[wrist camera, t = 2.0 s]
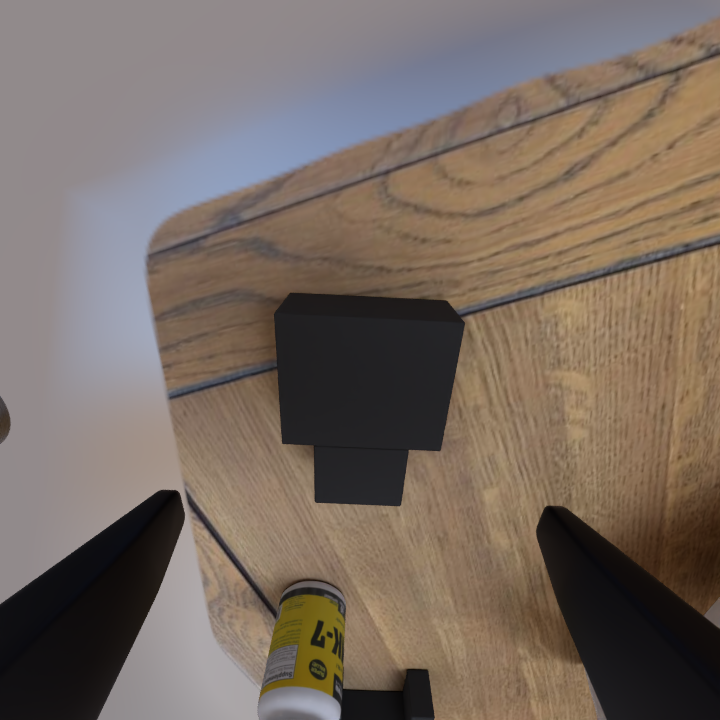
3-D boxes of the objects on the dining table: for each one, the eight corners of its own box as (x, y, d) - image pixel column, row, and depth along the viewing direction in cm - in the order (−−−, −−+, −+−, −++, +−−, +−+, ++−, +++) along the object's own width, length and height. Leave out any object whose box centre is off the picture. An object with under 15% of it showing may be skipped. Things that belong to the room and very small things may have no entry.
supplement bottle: (358, 605, 25) (356, 783, 17) (306, 624, 26) (283, 799, 19) (320, 570, 23) (300, 749, 16) (267, 592, 24) (223, 769, 17)
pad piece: (296, 459, 19) (285, 502, 16) (289, 292, 15) (273, 312, 12) (420, 464, 19) (429, 508, 16) (447, 300, 15) (465, 322, 12)
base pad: (322, 709, 32) (318, 756, 30) (322, 666, 29) (318, 714, 26) (416, 712, 32) (421, 759, 30) (428, 669, 29) (434, 718, 26)
